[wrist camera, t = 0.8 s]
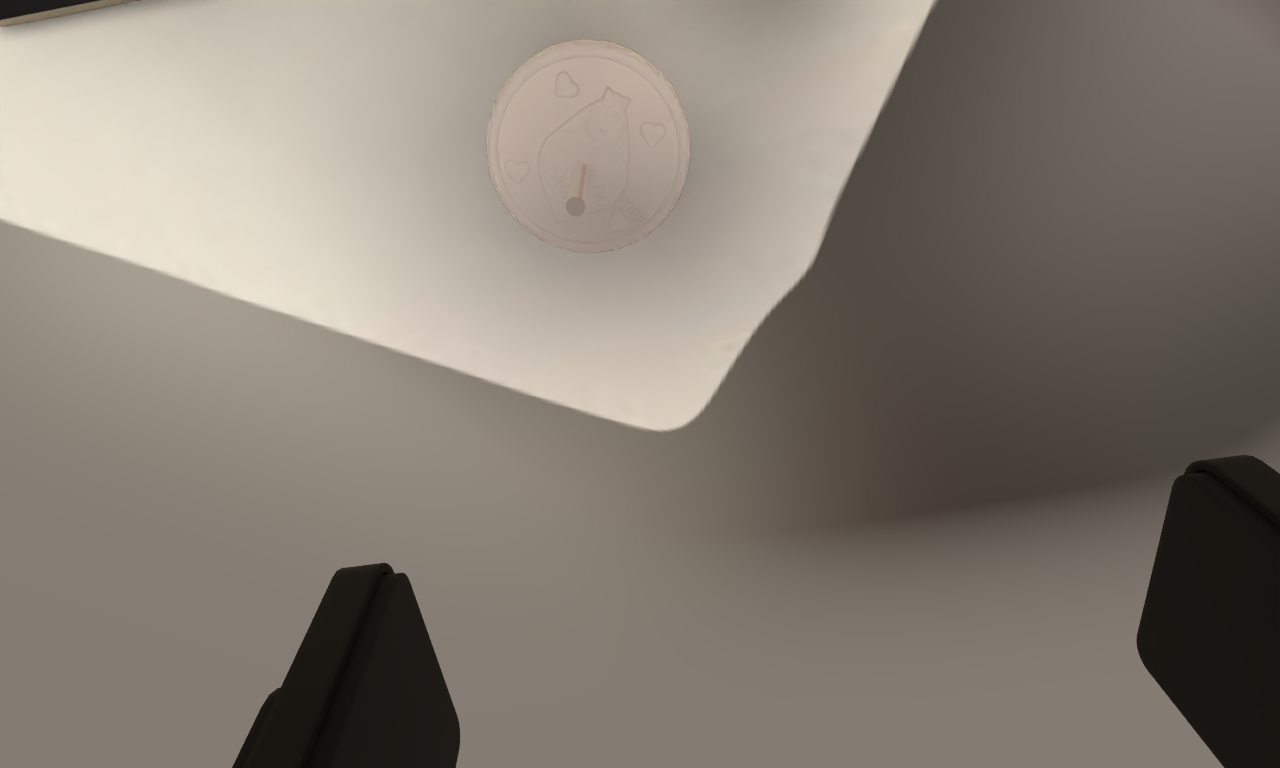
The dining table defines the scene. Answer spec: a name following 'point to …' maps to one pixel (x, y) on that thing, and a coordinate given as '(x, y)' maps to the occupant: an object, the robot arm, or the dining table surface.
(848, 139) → the dining table surface
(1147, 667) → the robot arm
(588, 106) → the smoothie
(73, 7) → the plate
